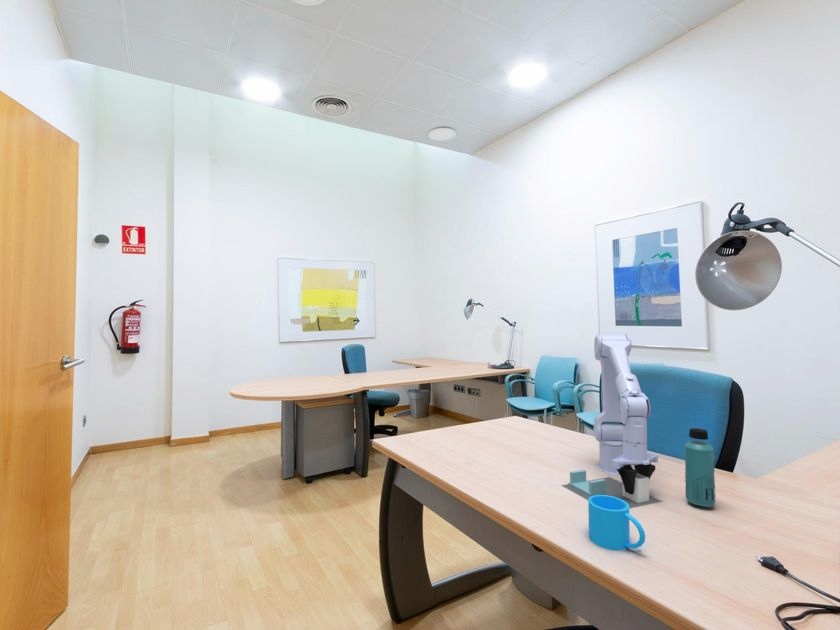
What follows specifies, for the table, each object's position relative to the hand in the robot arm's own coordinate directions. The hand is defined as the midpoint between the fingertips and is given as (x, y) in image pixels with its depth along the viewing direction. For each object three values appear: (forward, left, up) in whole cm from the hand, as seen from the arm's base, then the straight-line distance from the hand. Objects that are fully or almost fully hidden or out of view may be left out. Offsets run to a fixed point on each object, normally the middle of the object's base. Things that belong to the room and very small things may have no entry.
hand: (635, 491), depth 109 cm
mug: (+22, +15, -2) cm, 27 cm away
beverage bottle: (-12, +9, -2) cm, 15 cm away
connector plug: (0, 0, -2) cm, 2 cm away
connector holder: (+8, -9, -2) cm, 12 cm away
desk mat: (+4, -5, -2) cm, 7 cm away
